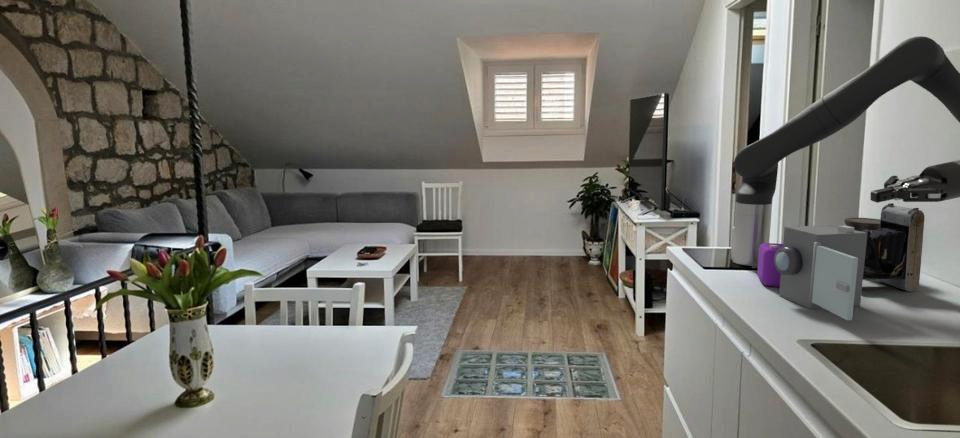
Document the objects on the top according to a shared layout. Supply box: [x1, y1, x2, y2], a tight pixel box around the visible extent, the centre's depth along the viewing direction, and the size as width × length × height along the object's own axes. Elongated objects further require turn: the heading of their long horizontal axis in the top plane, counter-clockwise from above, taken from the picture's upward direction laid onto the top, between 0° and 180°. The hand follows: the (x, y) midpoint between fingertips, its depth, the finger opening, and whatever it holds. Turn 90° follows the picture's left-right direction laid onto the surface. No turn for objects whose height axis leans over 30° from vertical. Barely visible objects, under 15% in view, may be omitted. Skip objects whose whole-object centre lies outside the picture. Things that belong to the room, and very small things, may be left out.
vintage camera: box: [861, 202, 925, 293], centre depth 139 cm, size 10×15×20 cm, turn 95°
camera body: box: [774, 224, 867, 310], centre depth 129 cm, size 10×15×17 cm
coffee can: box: [844, 217, 880, 232], centre depth 154 cm, size 10×10×14 cm
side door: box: [809, 242, 858, 321], centre depth 116 cm, size 2×13×13 cm, turn 1°
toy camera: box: [757, 242, 783, 288], centre depth 145 cm, size 11×14×10 cm
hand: (873, 197), depth 120 cm, fingers closed
